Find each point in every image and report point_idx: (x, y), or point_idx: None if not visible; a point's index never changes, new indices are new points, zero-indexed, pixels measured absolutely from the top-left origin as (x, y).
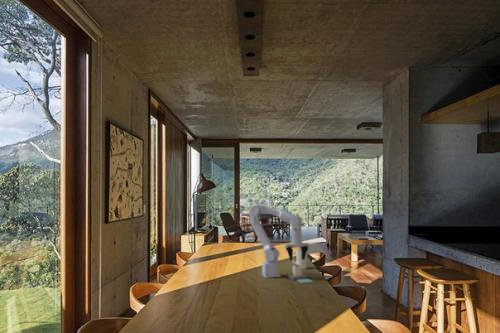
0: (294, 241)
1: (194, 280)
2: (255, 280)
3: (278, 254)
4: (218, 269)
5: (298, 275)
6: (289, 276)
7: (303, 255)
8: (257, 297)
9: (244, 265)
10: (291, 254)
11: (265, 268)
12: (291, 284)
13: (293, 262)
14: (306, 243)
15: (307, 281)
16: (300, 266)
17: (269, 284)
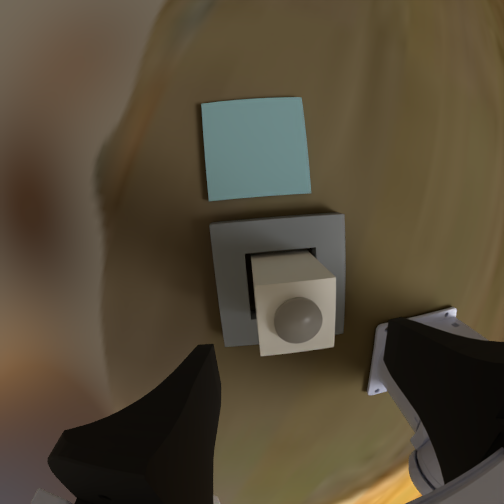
0: None
1: None
2: (498, 265)
3: (429, 464)
4: None
5: (280, 257)
6: (343, 283)
7: (203, 387)
8: (493, 20)
9: (390, 494)
10: (458, 341)
11: (483, 338)
12: (377, 103)
13: (216, 500)
14: None
15: (248, 116)
16: (267, 284)
17: (476, 157)
